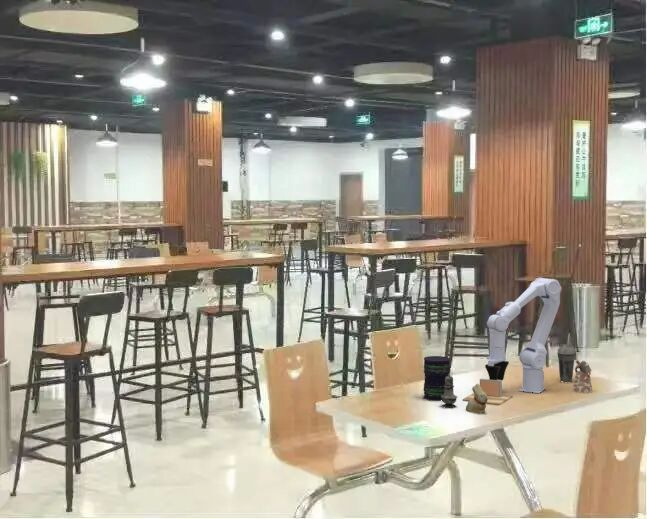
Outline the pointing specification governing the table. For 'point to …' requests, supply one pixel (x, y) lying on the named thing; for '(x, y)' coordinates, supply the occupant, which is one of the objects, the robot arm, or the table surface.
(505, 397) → the wooden board
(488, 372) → the robot arm
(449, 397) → the salt shaker
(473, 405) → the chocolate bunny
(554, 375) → the table surface
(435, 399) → the storage jar
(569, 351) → the beverage cup
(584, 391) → the figurine
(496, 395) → the tile
